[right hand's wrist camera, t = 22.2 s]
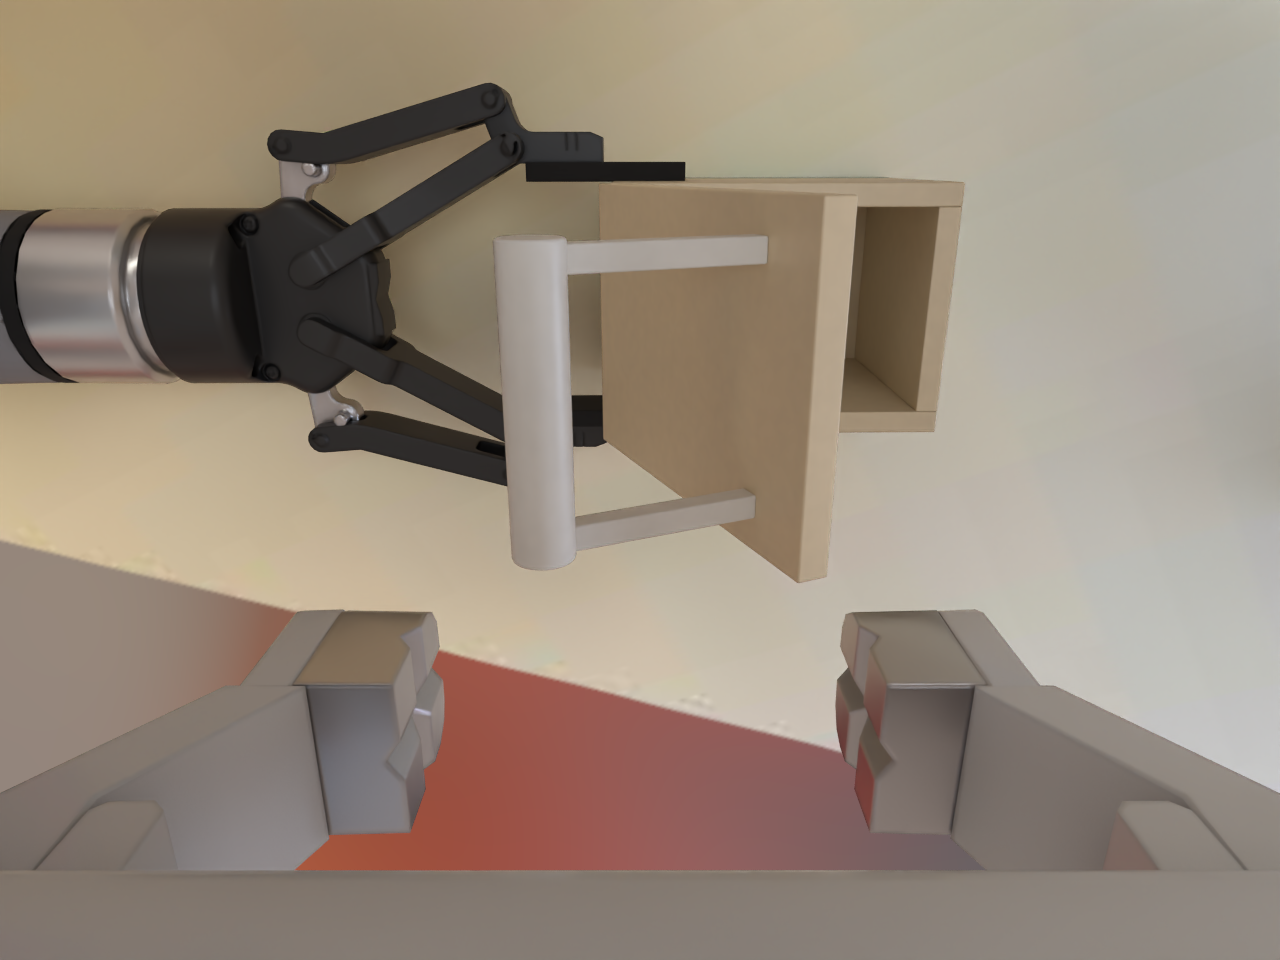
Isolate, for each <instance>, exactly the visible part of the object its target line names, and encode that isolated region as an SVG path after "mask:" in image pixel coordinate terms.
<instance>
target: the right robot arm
mask: <svg viewBox="0 0 1280 960" xmlns="http://www.w3.org/2000/svg"><path fill="white" fill-rule="evenodd" d="M439 647H440V645H439V637H438V629H437V621H436V619H435V617H434V615H433V613H432V612H399V611H345V610H309V611H300V612H297V613H296V614H295V615H294V616H293V618H292V619H291V620H290V622H289V623H288V624H287V625H286V627H285V628H284V629H283V631H282V632H281V633H280V634H279V636H278V637H277V638H276V640H275V641H274V642H273V643H272V645H271V646H270V647H269V649H268V650H267V651H266V652H265V654H264V655H263V656H262V658H261V659H260V660H259V661H258V663H257V664H256V665H255V667H254V668H253V669H252V670H251V672H250V673H249V674H248V676H247V677H246V678H245V679H244V681H243V682H242V683H241V685H240V686H224V687H222V688H220V689H218V690H216V691H214V692H211V693H209V694H207V695H205V696H203V697H201V698H199V699H197V700H195V701H193V702H190V703H188V704H186V705H184V706H182V707H180V708H178V709H176V710H174V711H172V712H169V713H167V714H165V715H163V716H161V717H159V718H157V719H155V720H153V721H151V722H148V723H146V724H144V725H142V726H140V727H138V728H136V729H134V730H132V731H130V732H127V733H125V734H123V735H121V736H119V737H117V738H115V739H113V740H111V741H109V742H107V743H104V744H102V745H100V746H98V747H96V748H94V749H92V750H90V751H88V752H85V753H83V754H81V755H79V756H77V757H75V758H73V759H71V760H69V761H67V762H64V763H62V764H60V765H58V766H56V767H54V768H52V769H50V770H48V771H46V772H44V773H41V774H39V775H37V776H35V777H33V778H31V779H29V780H27V781H25V782H23V783H20V784H18V785H16V786H14V787H12V788H10V789H8V790H6V791H4V792H1V793H0V960H1280V793H1278V792H1276V791H1274V790H1272V789H1269V788H1267V787H1265V786H1263V785H1261V784H1259V783H1257V782H1255V781H1253V780H1251V779H1249V778H1246V777H1244V776H1242V775H1240V774H1238V773H1236V772H1234V771H1232V770H1230V769H1228V768H1226V767H1223V766H1221V765H1219V764H1217V763H1215V762H1213V761H1211V760H1209V759H1207V758H1205V757H1202V756H1200V755H1198V754H1196V753H1194V752H1192V751H1190V750H1188V749H1186V748H1184V747H1182V746H1179V745H1177V744H1175V743H1173V742H1171V741H1169V740H1167V739H1165V738H1163V737H1161V736H1159V735H1156V734H1154V733H1152V732H1150V731H1148V730H1146V729H1144V728H1142V727H1140V726H1138V725H1136V724H1133V723H1131V722H1129V721H1127V720H1125V719H1123V718H1121V717H1119V716H1117V715H1115V714H1112V713H1110V712H1108V711H1106V710H1104V709H1102V708H1100V707H1098V706H1096V705H1094V704H1092V703H1089V702H1087V701H1085V700H1083V699H1081V698H1079V697H1077V696H1075V695H1073V694H1071V693H1069V692H1066V691H1064V690H1062V689H1060V688H1058V687H1056V686H1040V685H1039V683H1038V682H1037V681H1036V679H1035V678H1034V677H1033V676H1032V674H1031V673H1030V672H1029V671H1028V669H1027V668H1026V667H1025V665H1024V664H1023V663H1022V662H1021V660H1020V659H1019V658H1018V656H1017V655H1016V654H1015V653H1014V651H1013V650H1012V649H1011V648H1010V646H1009V645H1008V644H1007V642H1006V641H1005V640H1004V639H1003V637H1002V636H1001V635H1000V633H999V632H998V631H997V630H996V628H995V627H994V626H993V624H992V623H991V622H990V621H989V619H988V618H987V617H986V616H985V614H984V613H983V612H980V611H978V610H975V609H973V610H950V611H937V610H931V611H889V612H852V613H848V614H846V615H845V619H844V623H843V627H842V635H841V645H840V647H841V650H842V652H843V655H844V657H845V660H846V662H847V665H848V668H847V670H846V671H845V672H844V673H843V674H842V675H841V676H840V677H839V679H838V680H837V690H836V725H837V733H838V738H839V743H840V747H841V751H842V754H843V757H844V760H845V762H847V763H848V764H849V765H851V766H852V767H853V768H855V769H856V778H855V788H854V789H855V792H856V795H857V797H858V800H859V803H860V806H861V809H862V811H863V814H864V817H865V820H866V823H867V826H868V828H869V831H870V833H899V834H935V835H951V839H952V840H953V841H954V842H955V843H956V844H957V845H958V846H960V847H961V848H962V849H963V850H964V851H965V852H966V853H967V854H969V855H970V856H971V857H972V858H973V859H974V860H975V861H977V862H978V863H979V864H980V865H981V866H982V867H983V868H984V869H986V870H295V869H296V868H297V867H298V866H299V865H301V864H302V863H303V862H304V861H305V860H306V859H307V858H308V857H310V856H311V855H312V854H313V853H314V852H315V851H316V850H317V849H319V848H320V847H321V846H322V845H323V844H324V843H325V842H327V841H328V840H329V835H344V834H380V833H410V832H411V829H412V826H413V823H414V820H415V817H416V815H417V812H418V809H419V806H420V803H421V800H422V797H423V795H424V792H425V778H424V769H425V768H427V767H428V766H429V765H431V764H432V763H433V762H435V760H436V757H437V754H438V750H439V747H440V744H441V738H442V731H443V724H444V688H443V680H442V679H441V677H440V676H439V675H438V674H437V673H436V672H435V671H434V670H433V668H432V665H433V662H434V660H435V657H436V655H437V652H438V650H439Z"/></svg>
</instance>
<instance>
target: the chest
mask: <svg viewBox="0 0 1280 960" xmlns="http://www.w3.org/2000/svg"><path fill="white" fill-rule="evenodd" d="M612 183H627V184H648V185H669V186H690V187H711V188H731V189H752V190H773V191H794V192H815V193H836V194H855V195H857V196H858V203H857V215H856V227H855V239H854V251H853V264H852V276H851V288H850V300H849V312H848V324H847V336H846V348H845V361H844V373H843V385H842V397H841V409H840V421H839V432H934V431H935V423H936V415H937V412H936V411H937V407H938V399H939V391H940V383H941V374H942V366H943V358H944V350H945V342H946V334H947V326H948V318H949V309H950V301H951V293H952V285H953V277H954V269H955V261H956V253H957V245H958V236H959V228H960V220H961V212H962V207H961V206H962V203H963V195H964V187H965V183H964V182H952V181H934V180H916V179H898V178H885V177H834V178H685V181H613V182H612Z"/></svg>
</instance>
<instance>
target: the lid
mask: <svg viewBox="0 0 1280 960" xmlns="http://www.w3.org/2000/svg"><path fill="white" fill-rule="evenodd" d="M857 203H858V196H857V195H855V194H836V193H815V192H794V191H773V190H752V189H731V188H711V187H690V186H669V185H648V184H627V183H600V184H599V222H600V240H587V241H567V240H566V238H565V237H563V236H559V235H542V234H527V235H506V236H499V237H496V238H494V239H493V252H494V268H495V285H496V302H497V318H498V335H499V352H500V368H501V385H502V401H503V418H504V435H505V451H506V468H507V485H508V501H509V518H510V535H511V551H512V559H513V561H514V563H515V564H517V565H518V566H520V567H522V568H525V569H530V570H552V569H557V568H561V567H564V566H566V565H568V564H570V563H571V562H572V561H573V560H574V559H575V557H576V551H580V550H585V549H591V548H596V547H602V546H607V545H612V544H618V543H623V542H628V541H634V540H639V539H644V538H650V537H655V536H661V535H666V534H671V533H677V532H682V531H687V530H693V529H698V528H703V527H709V526H714V525H720V526H721V527H723V528H724V529H725V530H727V531H728V532H730V533H731V534H732V535H734V536H735V537H736V538H738V539H739V540H740V541H742V542H743V543H744V544H746V545H747V546H748V547H750V548H751V549H752V550H754V551H755V552H757V553H758V554H759V555H761V556H762V557H763V558H765V559H766V560H767V561H769V562H770V563H771V564H773V565H774V566H775V567H777V568H778V569H779V570H781V571H782V572H783V573H785V574H786V575H788V576H789V577H790V578H792V579H793V580H794V581H796V582H797V583H802V582H806V581H811V580H815V579H819V578H824V577H826V576H827V567H828V555H829V543H830V530H831V518H832V506H833V494H834V482H835V470H836V458H837V446H838V433H839V421H840V409H841V397H842V385H843V373H844V361H845V348H846V336H847V324H848V312H849V300H850V288H851V276H852V264H853V251H854V239H855V227H856V215H857ZM595 273H600V278H601V334H602V390H603V439H604V440H606V441H607V442H608V443H610V444H611V445H612V446H614V447H615V448H616V449H618V450H619V451H620V452H622V453H623V454H624V455H626V456H627V457H628V458H630V459H631V460H632V461H634V462H635V463H637V464H638V465H639V466H641V467H642V468H643V469H645V470H646V471H647V472H649V473H650V474H651V475H653V476H654V477H655V478H657V479H658V480H659V481H661V482H662V483H663V484H665V485H666V486H668V487H669V488H670V489H672V490H673V491H674V492H676V493H677V494H678V495H680V496H681V497H682V498H683V499H677V500H672V501H666V502H660V503H654V504H648V505H642V506H636V507H630V508H624V509H619V510H613V511H607V512H601V513H595V514H589V515H583V516H577V517H575V494H574V462H573V429H572V397H571V365H570V333H569V300H568V275H577V274H595Z"/></svg>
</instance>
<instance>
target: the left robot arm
mask: <svg viewBox="0 0 1280 960" xmlns="http://www.w3.org/2000/svg"><path fill="white" fill-rule="evenodd" d="M482 124H486V127H487V130H488V132H489V135H490V137H491V140H489V141H488V142H486V143H485V144H483V145H481V146H480V147H478V148H477V149H475V150H473V151H472V152H470V153H469V154H467V155H465V156H464V157H462V158H461V159H459V160H457V161H456V162H454V163H452V164H451V165H449V166H448V167H446V168H444V169H443V170H441V171H440V172H438V173H436V174H435V175H433V176H432V177H430V178H428V179H427V180H425V181H424V182H422V183H420V184H419V185H417V186H415V187H414V188H412V189H411V190H409V191H407V192H406V193H404V194H403V195H401V196H399V197H398V198H396V199H395V200H393V201H391V202H390V203H388V204H387V205H385V206H383V207H382V208H380V209H378V210H377V211H375V212H373V213H371V214H369V215H367V216H365V217H363V218H362V219H360V220H358V221H357V222H355V223H354V224H352V225H349V224H348V223H346V222H345V221H343V220H342V219H341V218H339V217H338V216H336V215H335V214H333V213H332V212H330V211H329V210H328V209H326V208H325V207H323V206H322V205H320V204H319V203H317V202H316V201H314V200H313V199H312V194H313V191H314V189H315V188H316V187H317V186H318V185H320V184H324V183H328V182H330V181H332V180H333V178H334V177H335V174H336V164H348V163H355V162H360V161H364V160H367V159H370V158H374V157H377V156H380V155H383V154H387V153H390V152H393V151H397V150H400V149H403V148H406V147H410V146H413V145H416V144H420V143H423V142H426V141H429V140H433V139H436V138H439V137H443V136H446V135H449V134H452V133H456V132H459V131H462V130H466V129H469V128H472V127H476V126H479V125H482ZM267 146H268V150H269V152H270V153H271V155H272V156H273V157H274V158H276V159H277V160H279V168H280V184H281V198H280V199H278V200H276V201H275V202H273V203H272V204H270V205H268V206H266V207H263V208H173V209H169V210H166V211H164V212H162V213H159V212H157V211H155V210H153V209H70V208H57V209H54V210H36V211H19V210H0V384H13V383H57V382H64V383H164V384H168V383H172V382H175V381H178V380H179V379H182V380H184V381H187V382H190V383H284V384H288V385H291V386H294V387H296V388H298V389H300V390H302V391H304V392H307V393H308V395H309V400H310V404H311V409H312V413H313V418H314V423H315V428H314V429H313V430H312V431H311V432H310V434H309V436H308V441H309V443H310V446H311V447H312V448H313V449H314V450H316V451H318V452H336V451H349V450H364V451H368V452H372V453H376V454H380V455H384V456H388V457H392V458H396V459H400V460H404V461H408V462H412V463H416V464H420V465H424V466H428V467H432V468H436V469H440V470H444V471H448V472H452V473H456V474H460V475H464V476H468V477H472V478H476V479H480V480H484V481H488V482H492V483H496V484H500V485H504V486H508V485H507V468H506V451H505V443H503V442H499V441H495V440H491V439H487V438H483V437H479V436H475V435H472V434H468V433H464V432H460V431H456V430H452V429H448V428H444V427H440V426H436V425H432V424H429V423H425V422H421V421H417V420H413V419H409V418H405V417H401V416H397V415H393V414H390V413H385V412H379V411H364V410H363V407H362V405H361V404H360V403H359V402H358V401H356V400H353V399H347V398H345V397H343V396H341V395H340V394H339V393H338V391H337V389H336V386H335V385H337V384H338V383H339V382H341V381H342V380H343V379H344V378H346V377H347V376H348V375H350V374H351V373H352V372H353V371H355V370H357V371H359V372H361V373H363V374H365V375H366V376H368V377H370V378H372V379H374V380H376V381H378V382H381V383H384V384H390V385H394V386H396V387H398V388H400V389H402V390H404V391H406V392H408V393H410V394H412V395H414V396H416V397H418V398H420V399H422V400H424V401H426V402H428V403H429V404H431V405H433V406H435V407H437V408H439V409H441V410H443V411H445V412H447V413H449V414H451V415H453V416H455V417H457V418H459V419H461V420H463V421H465V422H467V423H468V424H470V425H472V426H474V427H476V428H478V429H480V430H482V431H484V432H486V433H488V434H490V435H492V436H494V437H496V438H498V439H500V440H502V441H504V442H505V435H504V418H503V401H502V395H501V394H499V393H497V392H495V391H493V390H491V389H489V388H487V387H485V386H484V385H482V384H480V383H478V382H476V381H474V380H472V379H470V378H468V377H466V376H464V375H463V374H461V373H459V372H457V371H455V370H453V369H451V368H449V367H447V366H445V365H443V364H441V363H440V362H438V361H436V360H434V359H432V358H430V357H428V356H426V355H424V354H422V353H420V352H419V351H417V350H416V349H415V348H414V346H412V345H411V344H410V343H408V342H406V341H404V340H402V339H400V338H398V337H396V336H395V335H393V334H392V330H394V329H395V328H396V324H395V314H394V309H393V307H392V304H391V301H390V298H389V296H388V290H389V284H390V278H391V273H390V263H389V259H385V257H384V254H383V253H382V251H381V249H383V248H384V247H386V246H387V245H389V244H391V243H392V242H394V241H396V240H397V239H399V238H400V237H402V236H403V235H405V234H406V233H407V232H409V231H411V230H412V229H414V228H415V227H417V226H419V225H420V224H422V223H424V222H425V221H427V220H429V219H430V218H432V217H433V216H435V215H437V214H438V213H440V212H442V211H443V210H445V209H446V208H448V207H450V206H451V205H453V204H455V203H456V202H458V201H460V200H461V199H463V198H464V197H466V196H468V195H469V194H471V193H473V192H474V191H476V190H478V189H479V188H481V187H482V186H484V185H486V184H487V183H489V182H491V181H492V180H494V179H495V178H497V177H499V176H500V175H502V174H504V173H505V172H507V171H509V170H510V169H512V168H513V167H515V166H517V165H518V164H520V163H526V182H613V181H685V162H604V147H603V137H601V136H598V135H596V134H594V133H591V132H530V131H527V130H526V129H525V128H524V127H523V126H522V125H521V124H520V122H519V120H518V117H517V115H516V112H515V109H514V107H513V104H512V99H511V97H510V95H509V93H507V92H506V91H505V90H504V89H502V88H501V87H499V86H498V85H495V84H493V83H484V84H481V85H478V86H475V87H471V88H468V89H465V90H462V91H458V92H455V93H452V94H449V95H445V96H442V97H439V98H436V99H432V100H429V101H426V102H423V103H419V104H416V105H413V106H410V107H406V108H403V109H400V110H397V111H393V112H390V113H387V114H384V115H380V116H377V117H374V118H371V119H367V120H364V121H361V122H358V123H354V124H351V125H348V126H345V127H341V128H338V129H335V130H332V131H328V132H325V133H316V132H304V131H292V130H275V131H274V132H272V133H271V134H270V136H269V137H268V141H267ZM571 397H572V429H573V447H574V446H575V447H583V446H584V447H596V446H599V445H602V444H604V443H607V441H606V440H604V439H603V395H571Z"/></svg>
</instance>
